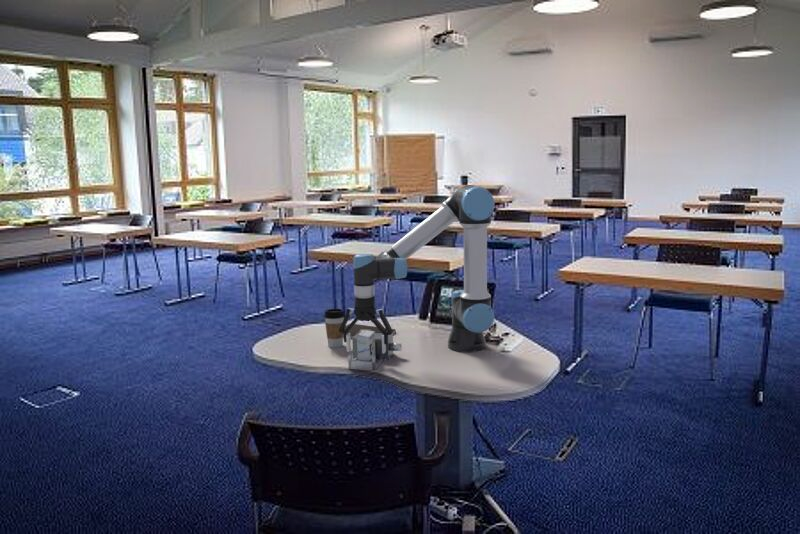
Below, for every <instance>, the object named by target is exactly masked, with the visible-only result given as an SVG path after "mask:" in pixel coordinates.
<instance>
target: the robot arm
mask: <svg viewBox="0 0 800 534" xmlns="http://www.w3.org/2000/svg"><path fill="white" fill-rule="evenodd" d="M494 210H495V199H494V196H493V195H492V193H491V192H490V191H489V190H488V189H487V188H485V187H483V186H477V185H474V184H473V185H472V184H467V185H464V186H461V187H459V188H458V189H456V191H454V192H452V194H451V195H450V196H448V198H447V199H445V200H444V201H442V203H441V207H439V208H438V209H437V210H436V211H434V212H433V213H432V214H430V215H429V216H428V217H426V219H424V220H423V221H421V223H419V224H418V225H417V226H415V227H414V228H412V230H410V231H409V232H408V233H406V234H405V235H404V236H403V237H402V238H400V239H399V240H398V241H396V242H395V243H394V244H393V245H392V246H391V247H389V248H388V249H386V250H385V251H381V252H380V253H378V254H377V255H376V258H375V256H374V254H372V253H366V252H363V253H358V254H355V255H353V263H352V264H353V266H352V268H353V269H352V271H353V293H354V308H352V307H348V308H347V309H346V310H345V312H346V313H345V316H344V320H343V322H342V324H341V326H340V329H339V332H340V333H343V334H344V337H343V343H346V353H347V352H350V351H351V350H352V343H351V340H352V338H350V333H348V332H349V330H350V329H351V328H352V327H353V326H354V324H357V322H358V321H360V322H369V321H370V322H371V323H372V324H374V327H377V328H378V329H379V330H380V331H381V333H382V334H383V336H382V353H383V354H384V353H385V352H386V344H388V335H391V334H392V333H393V330H392V329H393V328H392V325H390V323H389V321H388V319H387V317H386V315H385V309H384V308H382V307H381V308H380V309H377V308H376V297H375V294H376V289H375V286H376V285H375V284H376V283H375V280H395V279H396V280H398V279H405V278H406V277H407V275H408V264H407V259H409V258H410V257H411V256H413V255H414V254H415V253H416V252H418V251H419V250H420V249H422V248H423V247H425V245H427V244H428V243H429V242H430V241H432V240H433V239H434V238H435V237H437V236H438V235H440V234H441V233H442V232H443V231H444V230H446V229H447V228H449V226H451V225H452V224H453V223H459V225H460V226H461V227H462V228H463V289H458V290H454V291H453V292H452V293H451V330H450V333H449V336H448V340H447V347H448V349H450V350H452V351H457V352H463V353H464V352H465V353H466V352H468V353H469V352H471V353H472V352H478V351H481V350H484V349H485V348H486V346H487V345H486V343H487V342H486V338H485V335H484V332H486V331H487V330H489V329H490V328H491V327H492V325H493V324H494V321H495V313H494V309H493V308H492V295H491V294H490V293H489V292H488V227H490V225H491V224H492V213H493V212H494ZM353 313H354V315H355V318H353V320H352V321H351V322H350V323H349V324H350V325H349V326H348V327H347V328H346V330H345V329H344V328H345V326H346V325H348V324H347V323H348V321H349V319H350V318H351V315H352V314H353ZM376 314H377V316H379V318H380V320H381V322H382V323H381V322H380V320H379V319H378V317H377V316H376ZM385 328H386V329H385Z"/></svg>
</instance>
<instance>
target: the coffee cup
mask: <svg viewBox="0 0 800 534" xmlns="http://www.w3.org/2000/svg"><path fill="white" fill-rule="evenodd" d="M323 315H324V316H323V318H324V320H325V321H324V323H325V324H324V325H325V331H326V338H327V346H328V347H329V348H334V349H335V348H340V347H341V348H342V347H343V345H344V337H343V333H340V332H339V329H340V326H341V324H342V322H343V320H344V318H345V316H346V314H345V312H344V310H343V309H342V308H330V309H326V310H324V314H323Z"/></svg>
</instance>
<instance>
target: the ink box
mask: <svg viewBox="0 0 800 534" xmlns="http://www.w3.org/2000/svg"><path fill="white" fill-rule="evenodd" d="M357 354H358V360H359V361H372V356H376V355H375V331H362V332H361V333H359V334H358V335H357Z"/></svg>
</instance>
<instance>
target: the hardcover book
mask: <svg viewBox="0 0 800 534" xmlns="http://www.w3.org/2000/svg"><path fill="white" fill-rule="evenodd" d="M350 324H351V323H349V324H346V326H345V328H344V329H345V330H346V328H347V327H348V326H349V325H350ZM384 328H385V327H384ZM361 329H363V330H371V331H375V333H381V331H380V330H379V329H378V328H377V327H376V326H375V325H373V326H372V325H365V324H360V323H359V324H357V323H355V324H354V326H353V327H352V328H351V329H350V330H349V332H348V333H350V339H352V338H353V337H354V336H355V335H356V334H357V333H358V332H359V331H360V330H361ZM385 329H386V328H385ZM392 330H393V333H392V334H393V335H394V334H396V333H397V332H396V331H397V330H396V329H394V328H392ZM343 338H344V334H343Z"/></svg>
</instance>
